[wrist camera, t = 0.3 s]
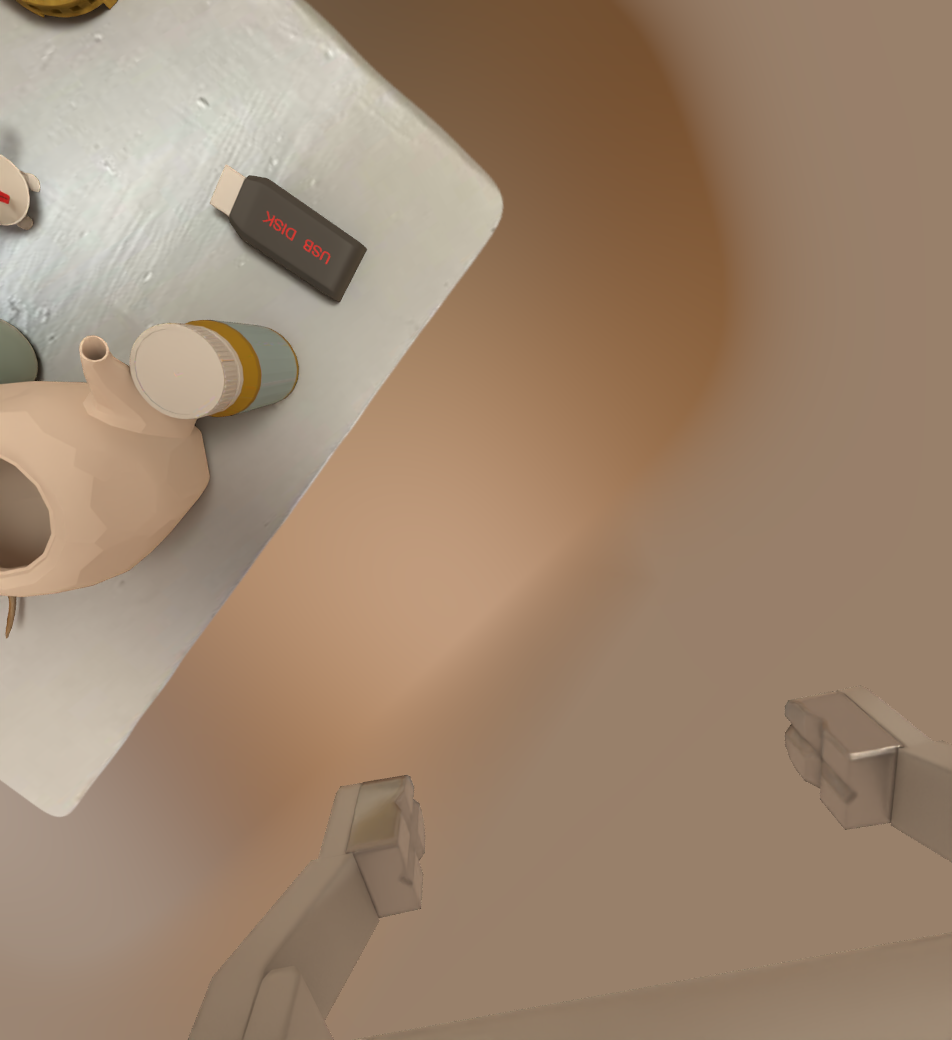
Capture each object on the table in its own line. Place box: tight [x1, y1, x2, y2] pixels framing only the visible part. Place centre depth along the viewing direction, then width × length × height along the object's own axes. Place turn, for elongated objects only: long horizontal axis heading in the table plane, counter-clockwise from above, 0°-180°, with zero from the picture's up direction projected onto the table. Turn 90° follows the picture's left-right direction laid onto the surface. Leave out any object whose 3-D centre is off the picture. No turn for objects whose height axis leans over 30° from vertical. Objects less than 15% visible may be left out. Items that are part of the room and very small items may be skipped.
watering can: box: [0, 335, 210, 597], centre depth 40 cm, size 16×27×19 cm, turn 136°
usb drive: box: [210, 165, 367, 302], centre depth 42 cm, size 5×12×3 cm, turn 57°
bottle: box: [130, 320, 299, 419], centre depth 40 cm, size 7×7×15 cm
